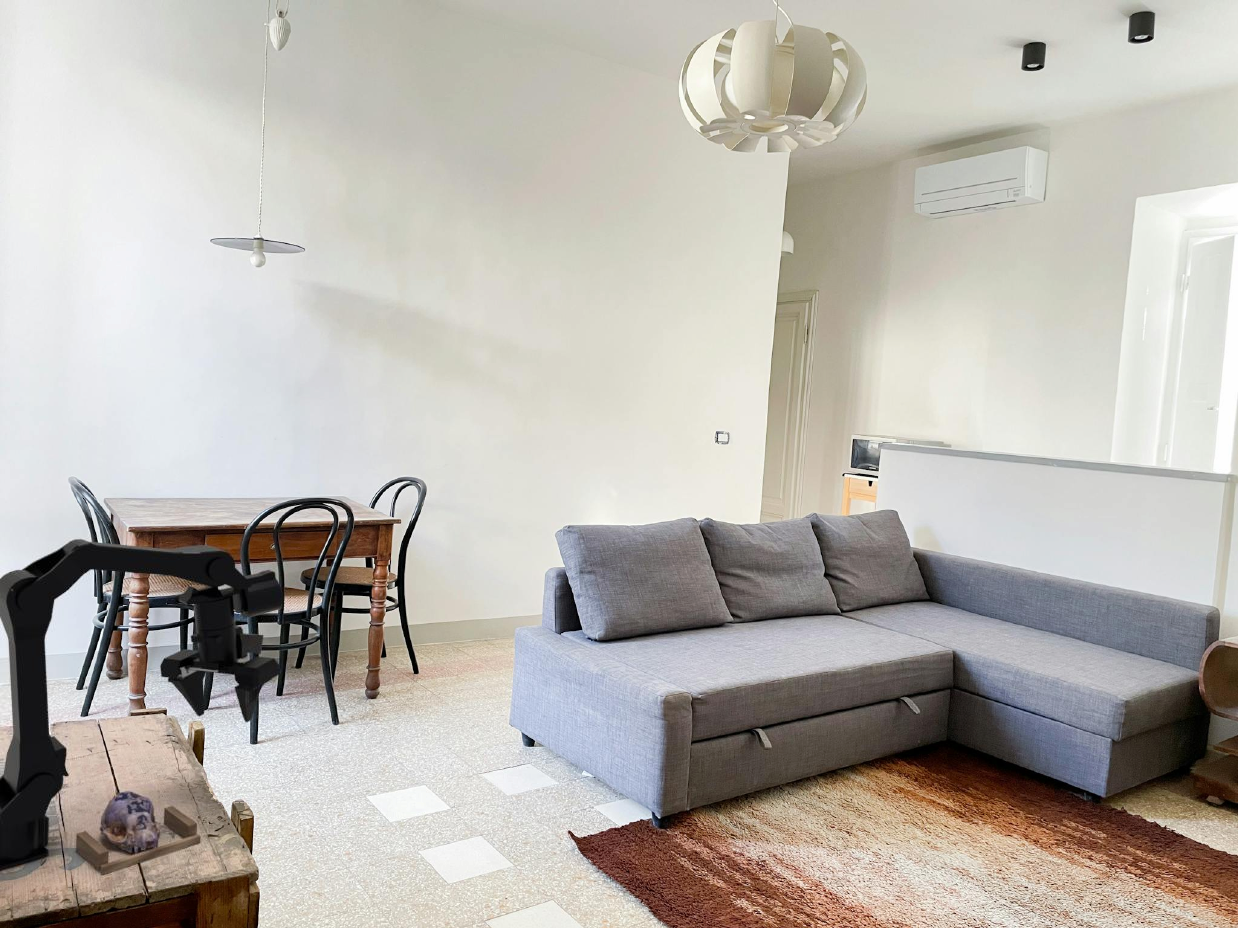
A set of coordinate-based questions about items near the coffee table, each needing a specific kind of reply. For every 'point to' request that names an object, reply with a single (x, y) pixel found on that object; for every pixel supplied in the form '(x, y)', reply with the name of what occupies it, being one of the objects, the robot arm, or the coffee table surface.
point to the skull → (130, 822)
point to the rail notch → (100, 855)
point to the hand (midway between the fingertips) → (224, 717)
